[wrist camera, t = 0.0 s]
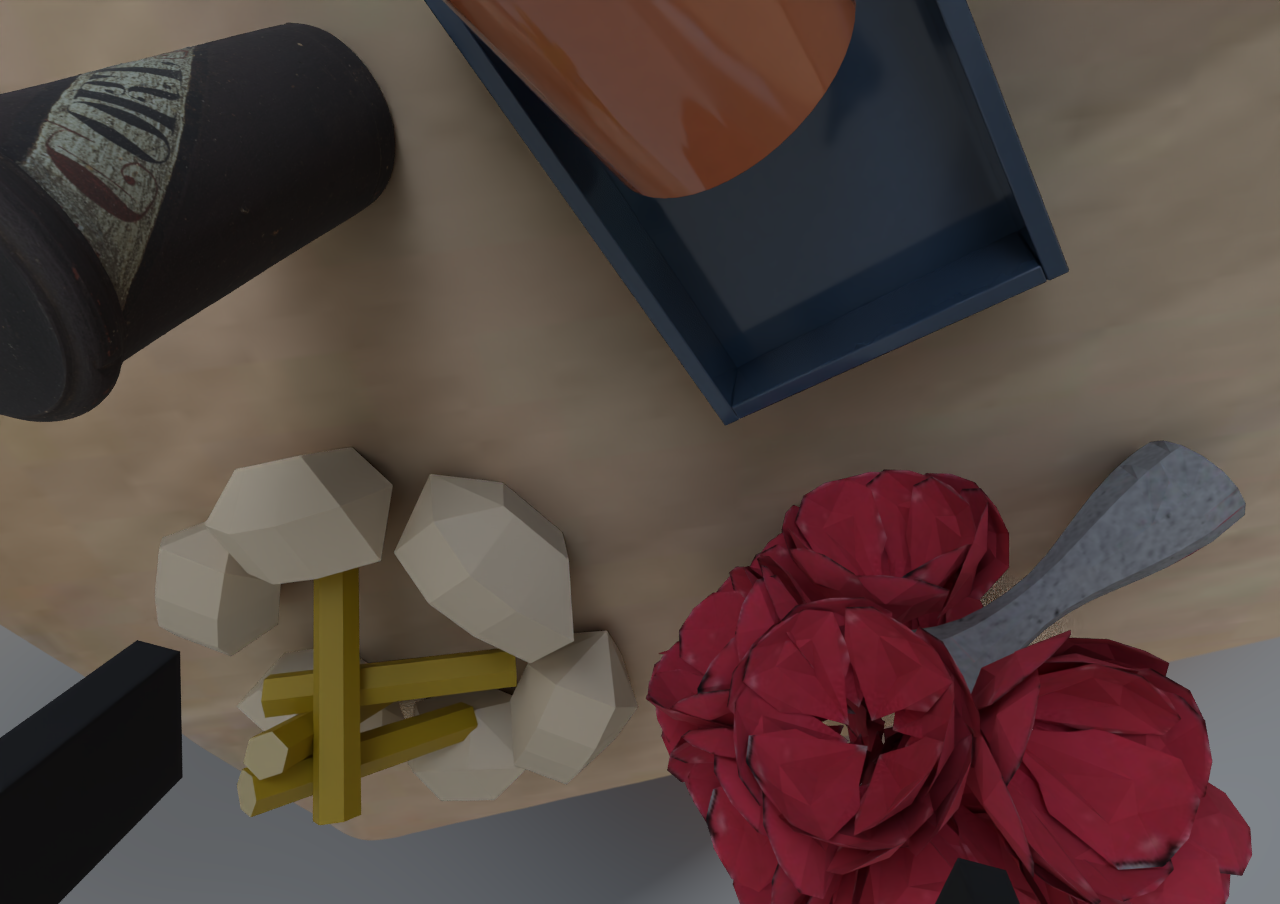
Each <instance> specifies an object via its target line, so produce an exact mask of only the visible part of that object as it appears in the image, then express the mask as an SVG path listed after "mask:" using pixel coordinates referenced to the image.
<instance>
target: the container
mask: <svg viewBox="0 0 1280 904" xmlns="http://www.w3.org/2000/svg"><path fill="white" fill-rule="evenodd" d="M394 157H395V139H394V129H393V124H392V119H391V116H390V113H389V109H388V106H387V104H386V101H385V99H384V97H383V94H382V92H381V90H380V88H379V86H378V85H377V83H376V81H375V80H374V78H373V76H372V75H371V73H370V72H369V70H368V69H367V67H366V66H365V65H364V64H363V63H362V61H361V60H360V59H359V58H358V57H357V56H356V55H355V53H353V52H352V51H351V50H350V49H349V48H348V47H347V46H346V45H345V44H344V43H342V42H341V41H340V40H339V39H337V38H336V37H334V36H333V35H331V34H330V33H328V32H326V31H324V30H322V29H319V28H317V27H314V26H310V25H305V24H298V23H286V24H284V25H278V26H274V27H269V28H265V29H261V30H257V31H253V32H248V33H244V34H240V35H236V36H232V37H229V38H225V39H220V40H216V41H212V42H208V43H205V44H201V45H197V46H193V47H186V48H184V49H180V50H176V51H173V52H169V53H164V54H161V55H157V56H153V57H149V58H145V59H141V60H138V61H133V62H128V63H120V64H119V65H114V66H111V67H107V68H104V69H100V70H96V71H92V72H88V73H85V74H79V75H77V76H73V77H69V78H65V79H61V80H57V81H54V82H50V83H46V84H41V85H37V86H33V87H29V88H25V89H21V90H17V91H12V92H8V93H4V94H0V414H1V415H5V416H9V417H13V418H17V419H22V420H27V421H37V422H52V421H61V420H67V419H71V418H74V417H77V416H80V415H82V414H84V413H86V412H88V411H90V410H92V409H93V408H95V407H96V406H97V405H99V404H100V403H101V402H102V401H103V400H104V399H105V398H106V397H107V396H108V395H109V393H110V392H111V391H112V389H113V387H114V386H115V384H116V381H117V379H118V377H119V374H120V369H121V365H122V363H123V361H125V360H126V359H128V358H129V357H131V356H132V355H134V354H135V353H137V352H138V351H140V350H141V349H143V348H144V347H146V346H147V345H149V344H150V343H152V342H153V341H155V340H156V339H158V338H159V337H161V336H162V335H164V334H166V333H167V332H168V331H170V330H171V329H173V328H175V327H176V326H178V325H179V324H181V323H182V322H184V321H186V320H187V319H189V318H191V317H192V316H194V315H195V314H197V313H199V312H200V311H201V310H203V309H205V308H206V307H208V306H210V305H211V304H213V303H215V302H216V301H218V300H220V299H221V298H223V297H224V296H226V295H227V294H229V293H231V292H232V291H234V290H235V289H237V288H239V287H240V286H242V285H243V284H245V283H246V282H248V281H249V280H251V279H253V278H254V277H256V276H257V275H259V274H261V273H262V272H264V271H265V270H267V269H268V268H269V267H271V266H273V265H274V264H276V263H278V262H279V261H281V260H282V259H284V258H286V257H287V256H289V255H290V254H292V253H294V252H295V251H297V250H299V249H300V248H302V247H303V246H305V245H307V244H308V243H310V242H312V241H313V240H315V239H316V238H318V237H319V236H321V235H323V234H325V233H326V232H328V231H330V230H331V229H333V228H335V227H336V226H338V225H339V224H341V223H343V222H344V221H346V220H348V219H349V218H351V217H353V216H354V215H356V214H357V213H359V212H360V211H362V210H363V209H364V208H366V207H367V206H368V205H370V204H371V203H372V202H374V201H375V200H376V199H377V198H378V197H379V196H380V194H381V193H382V192H383V190H384V189H385V187H386V185H387V184H388V181H389V179H390V176H391V173H392V170H393V165H394Z"/></svg>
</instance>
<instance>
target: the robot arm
mask: <svg viewBox="0 0 1280 904" xmlns="http://www.w3.org/2000/svg"><path fill="white" fill-rule="evenodd" d="M181 778H182V729H181V677H180V651H176V650H172V649H168V648H165V647H161V646H157V645H153V644H149V643H146V642H142V641H138V640H137V641H136V642H134V643H133V644H131V645H130V646H128V647H127V648H126V649H124V650H123V651H121V652H120V653H119V654H117V655H116V656H114V657H113V658H112V659H110V660H109V661H107V662H106V663H105V664H103V665H102V666H100V667H99V668H98V669H96V670H95V671H93V672H92V673H91V674H89V675H88V676H86V677H85V678H84V679H82V680H81V681H80V682H78V683H77V684H75V685H74V686H73V687H71V688H70V689H68V690H67V691H65V692H64V693H63V694H61V695H60V696H58V697H57V698H56V699H54V700H53V701H51V702H50V703H49V704H47V705H46V706H45V707H43V708H42V709H40V710H39V711H37V712H36V713H35V714H33V715H32V716H30V717H29V718H27V719H26V720H25V721H23V722H22V723H20V724H19V725H18V726H16V727H15V728H14V729H12V730H11V731H9V732H8V733H6V734H5V735H4V736H2V737H1V738H0V904H58V903H60V902H61V900H62V899H63V898H64V897H65V896H66V895H67V894H68V893H69V892H70V891H71V890H72V889H73V888H74V887H75V886H76V885H77V884H78V883H79V882H80V881H81V880H82V879H83V878H84V877H85V876H86V875H87V874H88V873H89V872H90V871H91V870H92V869H93V868H94V867H95V866H96V865H97V864H98V863H99V862H100V861H101V860H102V859H103V858H104V856H106V854H107V853H109V852H110V850H111V849H112V848H113V847H114V846H115V845H116V844H117V843H118V842H119V841H120V840H121V839H122V838H123V837H124V836H125V835H126V834H127V833H128V832H129V831H130V830H131V829H132V828H133V827H134V826H135V825H136V824H137V823H138V822H139V821H140V820H141V819H142V818H143V817H144V816H145V815H146V814H147V813H148V812H149V811H150V810H151V809H152V808H153V807H154V806H155V805H156V804H157V803H158V802H159V801H160V799H161V798H162V797H163V796H164V795H165V794H166V793H167V792H168V791H169V790H170V789H171V788H172V787H173V786H174V785H175V784H176V783H177V782H178V781H179V780H180V779H181ZM935 904H1020V902H1019V900H1018V898H1017V895H1016V893H1015V890H1014V888H1013V886H1012V883H1011V881H1010V879H1009V876H1008V874H1007V871H1006V870H1004V869H1000V868H996V867H992V866H988V865H985V864H981V863H977V862H973V861H970V860H966V859H962V858H957V860H956V862H955V864H954V866H953V868H952V870H951V872H950V874H949V876H948V878H947V880H946V882H945V884H944V886H943V888H942V890H941V892H940V894H939V896H938V898H937V901H936V903H935Z"/></svg>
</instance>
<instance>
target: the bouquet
mask: <svg viewBox="0 0 1280 904" xmlns="http://www.w3.org/2000/svg"><path fill="white" fill-rule="evenodd" d="M1245 506H1246V503H1245V501H1244V499H1243V497H1242V495H1241V493H1240V491H1239V489H1238V487H1237V486H1236V485H1235V484H1234V483H1233V482H1232V481H1231V480H1230V479H1229V477H1228V476H1227V475H1226V474H1225V473H1224V472H1223V471H1222V470H1221V469H1219V468H1218V467H1217V466H1215V465H1214V464H1213V463H1211V462H1210V461H1209V460H1207V459H1206V458H1205V457H1204V456H1202V455H1200V454H1198V453H1196V452H1194V451H1192V450H1190V449H1188V448H1186V447H1184V446H1182V445H1179V444H1175V443H1171V442H1167V441H1155V442H1150V443H1148V444H1146V445H1145V446H1143V447H1142V448H1140V449H1139V450H1137V451H1136V452H1135V453H1133V454H1132V455H1131V456H1129V457H1128V458H1127V459H1126V460H1125V461H1124V462H1122V463H1121V464H1120V465H1119V466H1118V467H1117V468H1116V469H1115V470H1114V471H1113V472H1112V473H1111V474H1110V475H1109V476H1108V477H1107V478H1106V479H1105V480H1104V481H1103V482H1102V484H1101V485H1100V486H1099V487H1098V488H1097V489H1096V490H1095V491H1094V493H1093V494H1092V495H1091V496H1090V498H1089V499H1088V500H1087V501H1086V503H1085V504H1084V505H1083V507H1082V508H1081V509H1080V510H1079V512H1078V513H1077V514H1076V516H1075V517H1074V518H1073V520H1072V521H1071V523H1070V524H1069V525H1068V527H1067V528H1066V529H1065V531H1064V532H1063V533H1062V535H1061V536H1060V537H1059V539H1058V540H1057V541H1056V543H1055V544H1054V545H1053V547H1052V548H1051V549H1050V551H1049V552H1048V553H1047V554H1046V556H1045V557H1044V558H1043V559H1042V560H1041V561H1040V562H1039V563H1038V564H1037V565H1036V567H1035V568H1034V569H1033V570H1032V571H1031V572H1030V573H1029V574H1028V575H1027V576H1026V577H1025V578H1023V579H1022V580H1021V581H1020V582H1019V583H1017V584H1016V585H1015V586H1014V587H1013V588H1011V589H1010V590H1009V591H1008V592H1006V593H1005V594H1003V595H1002V596H1000V597H999V598H997V599H996V600H994V601H992V602H991V603H989V604H988V605H986V606H985V607H983V605H982V603H981V601H980V599H981V597H982V596H983V595H984V594H985V593H986V592H987V591H988V590H989V589H990V588H991V587H992V585H993V584H994V583H995V582H996V581H997V580H998V579H999V578H1000V577H1001V576H1002V574H1003V573H1004V572H1005V571H1006V570H1007V569H1008V568H1009V532H1008V530H1007V528H1006V526H1005V524H1004V522H1003V520H1002V518H1001V516H1000V514H999V512H998V510H997V507H996V506H995V505H994V504H993V502H992V501H991V500H990V499H989V498H988V496H987V495H986V494H985V493H984V492H983V490H982V489H981V488H979V487H978V486H977V484H976V483H975V482H972V481H970V480H967V479H964V478H961V477H958V476H955V475H953V474H937V473H926V474H925V475H922V474H919V473H916V472H913V471H910V470H883V471H882V472H867V473H864V474H860V475H856V476H852V477H849V478H845V479H840V480H836V481H831V482H826V483H824V484H822V485H820V486H819V487H817V488H816V489H814V490H812V491H811V492H809V493H807V494H806V495H804V496H803V499H802V502H801V504H800V507H797V506H795V505H793V506H792V507H791V508H790V509H789V510H788V511H787V512H786V514H785V519H784V523H783V527H782V533H781V534H779V535H778V536H777V537H775V538H774V539H773V540H771V541H770V542H769V543H767V545H766V546H765V548H764V549H763V551H762V552H761V553H759V554H757V555H756V556H755V558H754V560H753V562H752V564H751V566H750V567H749V566H748V567H735V568H734V569H733V570H732V571H730V572H729V574H730V577H728V579H727V580H726V581H725V582H724V583H723V585H722V586H721V587H720V588H719V589H718V591H717V592H716V593H712V594H711V595H710V596H708V597H707V598H706V599H705V600H703V601H702V602H701V603H700V604H698V605H697V606H696V607H695V608H694V609H693V610H692V612H691V613H690V615H689V616H688V618H687V619H686V621H685V622H684V624H683V625H682V627H681V629H680V630H679V641H678V642H676V643H675V644H674V645H673V646H672V647H671V648H670V649H669V650H668V651H664V652H661V653H659V654H665V655H664V656H663V657H662V659H661V660H660V661H659V662H657V663H656V664H654V669H653V673H652V677H651V680H650V681H649V688H648V695H647V697H646V699H647V700H648V701H649V702H651V703H652V704H653V705H655V707H656V714H657V720H658V722H659V724H660V726H661V728H662V730H663V731H662V735H661V736H662V739H663V741H664V743H665V746H666V748H667V750H668V753H669V755H670V758H669V763H668V769H667V771H669V772H670V773H671V774H672V775H674V776H675V777H676V778H677V779H678V780H680V781H681V782H685V784H686V786H687V789H688V791H689V793H690V795H691V797H692V798H693V802H694V803H695V805H696V807H697V808H698V810H699V811H700V813H701V814H702V816H703V818H704V819H705V821H706V823H707V825H708V829H709V832H710V836H711V839H712V843H713V847H714V850H715V851H716V853H717V854H718V856H719V858H720V860H721V862H722V863H723V865H724V867H725V868H726V870H727V872H728V873H729V875H730V877H731V878H732V879H734V881H733V886H734V888H735V891H736V894H737V897H738V900H739V902H740V904H935V903H936V901H937V898H938V896H939V894H940V892H941V890H942V888H943V886H944V884H945V882H946V880H947V878H948V876H949V874H950V872H951V870H952V868H953V866H954V864H955V862H956V860H957V858H962V859H966V860H970V861H973V862H977V863H981V864H985V865H988V866H992V867H996V868H1000V869H1004V870H1006V871H1007V874H1008V876H1009V879H1010V881H1011V883H1012V886H1013V888H1014V890H1015V893H1016V895H1017V898H1018V900H1019V902H1020V904H1225V902H1226V900H1227V899H1228V897H1229V887H1230V874H1232V875H1240V876H1242V875H1243V873H1244V871H1245V869H1246V867H1247V864H1248V862H1249V860H1250V858H1251V856H1252V848H1251V833H1250V827H1249V826H1248V824H1247V823H1246V822H1245V820H1244V819H1243V817H1242V816H1241V814H1240V813H1239V812H1238V810H1237V809H1236V808H1235V806H1234V805H1233V803H1232V802H1231V801H1230V799H1229V798H1228V797H1227V795H1226V793H1224V792H1223V791H1221V790H1220V789H1218V788H1216V787H1215V786H1213V785H1212V784H1210V783H1208V780H1209V775H1210V770H1211V765H1212V758H1211V751H1210V747H1209V740H1208V735H1207V729H1206V723H1205V720H1204V719H1203V717H1202V714H1201V712H1200V710H1199V708H1198V706H1197V704H1196V702H1195V700H1194V698H1193V696H1192V694H1191V692H1190V690H1188V689H1186V688H1184V687H1183V686H1181V685H1179V684H1178V683H1176V682H1174V681H1173V680H1171V679H1169V678H1167V677H1166V673H1167V669H1168V666H1169V663H1168V662H1166V661H1164V660H1162V659H1160V658H1158V657H1156V656H1154V655H1152V654H1150V653H1148V652H1146V651H1144V650H1141V649H1137V648H1134V647H1131V646H1128V645H1125V644H1122V643H1119V642H1116V641H1112V640H1109V639H1089V638H1069V637H1070V635H1071V631H1070V630H1069V631H1067V632H1064V633H1062V634H1059V635H1056V636H1054V637H1051V638H1049V639H1046V640H1043V641H1041V642H1038V643H1036V644H1033V645H1030V646H1028V645H1029V644H1030V643H1031V642H1032V641H1033V640H1034V639H1035V638H1037V637H1038V636H1039V635H1040V634H1041V633H1042V632H1043V631H1044V630H1045V629H1047V628H1048V627H1049V626H1051V625H1052V624H1053V623H1055V622H1056V621H1058V620H1059V619H1060V618H1062V617H1063V616H1064V615H1066V614H1067V613H1069V612H1071V611H1073V610H1075V609H1077V608H1078V607H1080V606H1082V605H1084V604H1086V603H1087V602H1089V601H1091V600H1094V599H1096V598H1098V597H1100V596H1103V595H1105V594H1107V593H1109V592H1111V591H1114V590H1116V589H1118V588H1121V587H1123V586H1126V585H1128V584H1130V583H1133V582H1135V581H1137V580H1140V579H1142V578H1144V577H1147V576H1149V575H1151V574H1153V573H1155V572H1158V571H1160V570H1162V569H1164V568H1166V567H1168V566H1170V565H1172V564H1174V563H1176V562H1178V561H1180V560H1182V559H1183V558H1185V557H1187V556H1189V555H1191V554H1193V553H1194V552H1196V551H1197V550H1199V549H1201V548H1202V547H1204V546H1206V545H1207V544H1209V543H1211V542H1212V541H1214V540H1215V539H1216V538H1217V537H1218V536H1220V535H1221V534H1222V533H1223V532H1225V531H1226V530H1227V529H1228V528H1229V527H1231V526H1232V525H1233V524H1234V523H1235V522H1237V521H1238V520H1239V519H1240V518H1241V517H1243V516H1244V514H1245ZM1027 646H1028V647H1027ZM894 712H895V717H894V724H893V727H891V728H886V729H884V724H885V721H883V720H882V719H881V717H884V716H886V715H889V714H892V713H894ZM828 719H829V720H832V721H836V722H840V723H843V724H845V725H846V726H847V727H848V732H849V738H850V743H847V742H848V740H847V739H845V738H844V737H843V736H841V735H840V733H841V731H842V728H843V726H844V725H838V726H827V725H825V724H824V723H822V721H825V720H828ZM1032 729H1033V730H1032ZM883 733H884V737H885V743H884V745H883V743H882V735H883ZM861 783H862V784H861Z"/></svg>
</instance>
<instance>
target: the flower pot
mask: <svg viewBox="0 0 1280 904" xmlns="http://www.w3.org/2000/svg"><path fill="white" fill-rule="evenodd" d="M442 1H443V2H444V3H445V4H446V5H447V6H448V7H449V8H450V9H451V10H452V11H453V12H454V13H455V14H456V15H457V16H458V17H459V18H460V19H461V20H462V21H463V22H464V23H465V24H466V25H467V26H468V27H469V28H470V29H471V30H472V31H473V32H474V33H475V34H476V35H477V36H478V37H479V38H480V39H481V40H482V41H483V42H484V43H485V44H486V46H487V47H488V48H489V49H490V50H491V51H492V52H493V53H494V54H495V55H496V56H497V57H498V58H499V59H500V60H501V61H502V62H503V63H504V64H505V65H506V66H507V67H508V68H509V69H510V70H511V71H512V72H513V73H514V74H515V75H516V76H517V77H518V78H519V79H520V80H521V81H522V82H523V83H524V84H525V85H526V86H527V87H528V88H529V89H530V90H531V91H532V92H533V93H534V94H535V95H536V96H537V97H538V98H539V99H540V100H541V101H542V102H543V103H544V104H545V105H546V106H547V107H548V108H549V109H550V110H551V111H552V112H553V113H554V114H555V115H556V116H557V117H558V118H559V119H560V120H561V121H562V122H563V123H564V124H565V125H566V126H567V127H568V128H569V129H570V130H571V131H572V132H573V134H574V135H575V136H576V137H577V138H578V139H579V140H580V141H581V142H582V143H583V144H584V145H585V146H586V147H587V148H588V149H589V150H590V151H591V152H592V153H593V154H594V155H595V156H596V157H597V158H598V159H599V160H600V161H601V162H602V163H603V164H604V165H605V166H606V167H607V168H608V169H609V170H610V171H611V172H612V173H613V174H614V175H615V176H616V177H617V178H618V179H619V180H620V181H621V182H622V183H623V184H624V185H626V186H627V187H628V188H629V189H631V190H633V191H635V192H636V193H638V194H641V195H645V196H648V197H652V198H664V199H667V198H680V197H685V196H689V195H694V194H697V193H700V192H703V191H706V190H709V189H712V188H714V187H716V186H719V185H721V184H723V183H725V182H727V181H729V180H731V179H733V178H734V177H736V176H738V175H740V174H741V173H743V172H745V171H747V170H748V169H749V168H751V167H752V166H754V165H755V164H757V163H758V162H759V161H761V160H762V159H764V158H765V157H766V156H767V155H769V154H770V153H771V152H772V151H773V150H775V149H776V148H777V147H778V146H779V145H781V144H782V143H783V142H784V141H785V140H786V139H787V138H788V137H789V136H790V135H791V134H792V133H793V132H794V131H795V130H796V129H797V128H798V127H799V126H800V125H801V123H802V122H803V121H804V120H805V119H806V118H807V117H808V115H809V114H810V113H811V112H812V111H813V109H814V108H815V107H816V105H817V104H818V103H819V101H820V100H821V98H822V97H823V96H824V94H825V93H826V91H827V90H828V88H829V86H830V85H831V83H832V81H833V80H834V78H835V76H836V74H837V72H838V70H839V68H840V66H841V64H842V62H843V60H844V58H845V55H846V52H847V50H848V47H849V44H850V41H851V37H852V33H853V28H854V24H855V9H856V3H855V0H442Z"/></svg>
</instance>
